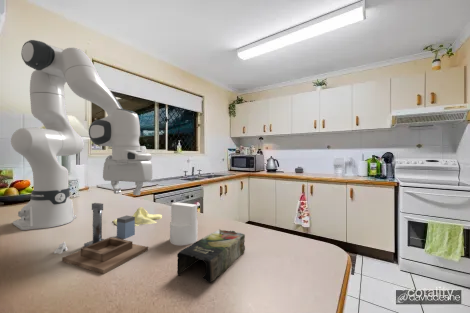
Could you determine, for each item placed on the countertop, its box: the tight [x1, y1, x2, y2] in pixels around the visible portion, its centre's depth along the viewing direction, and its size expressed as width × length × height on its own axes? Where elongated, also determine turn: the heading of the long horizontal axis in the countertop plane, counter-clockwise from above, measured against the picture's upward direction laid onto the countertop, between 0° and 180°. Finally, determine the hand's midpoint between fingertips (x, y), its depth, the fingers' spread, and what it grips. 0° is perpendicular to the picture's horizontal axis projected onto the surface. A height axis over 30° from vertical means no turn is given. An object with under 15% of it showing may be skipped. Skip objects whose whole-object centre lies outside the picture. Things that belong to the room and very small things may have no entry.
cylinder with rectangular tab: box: [169, 201, 199, 246], centre depth 72 cm, size 9×9×12 cm
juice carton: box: [176, 228, 246, 283], centre depth 58 cm, size 20×10×6 cm, turn 154°
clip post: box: [83, 202, 106, 247], centre depth 68 cm, size 5×5×13 cm
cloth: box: [112, 206, 163, 227], centre depth 94 cm, size 22×19×6 cm
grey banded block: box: [116, 215, 136, 240], centre depth 76 cm, size 4×4×6 cm
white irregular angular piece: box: [53, 241, 69, 255], centre depth 63 cm, size 3×3×3 cm
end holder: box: [61, 236, 149, 275], centre depth 61 cm, size 16×14×3 cm
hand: (126, 194), depth 76 cm, fingers open, 8 cm apart
